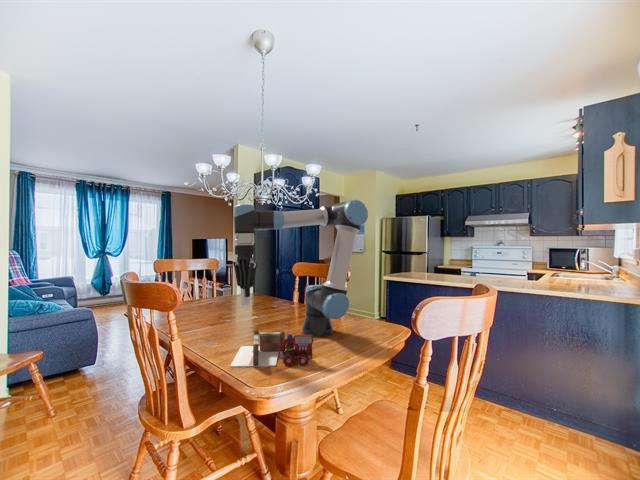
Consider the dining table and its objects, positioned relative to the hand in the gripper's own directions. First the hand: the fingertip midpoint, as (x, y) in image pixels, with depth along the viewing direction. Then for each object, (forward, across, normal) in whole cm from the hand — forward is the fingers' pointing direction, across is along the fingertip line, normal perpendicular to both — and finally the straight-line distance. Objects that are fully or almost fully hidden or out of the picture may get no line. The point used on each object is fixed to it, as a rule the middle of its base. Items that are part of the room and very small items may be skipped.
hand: (245, 304), depth 112 cm
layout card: (+20, +4, +2) cm, 20 cm away
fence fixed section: (+20, +5, +7) cm, 21 cm away
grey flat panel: (+19, +8, -1) cm, 20 cm away
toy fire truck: (+20, +20, +7) cm, 29 cm away
